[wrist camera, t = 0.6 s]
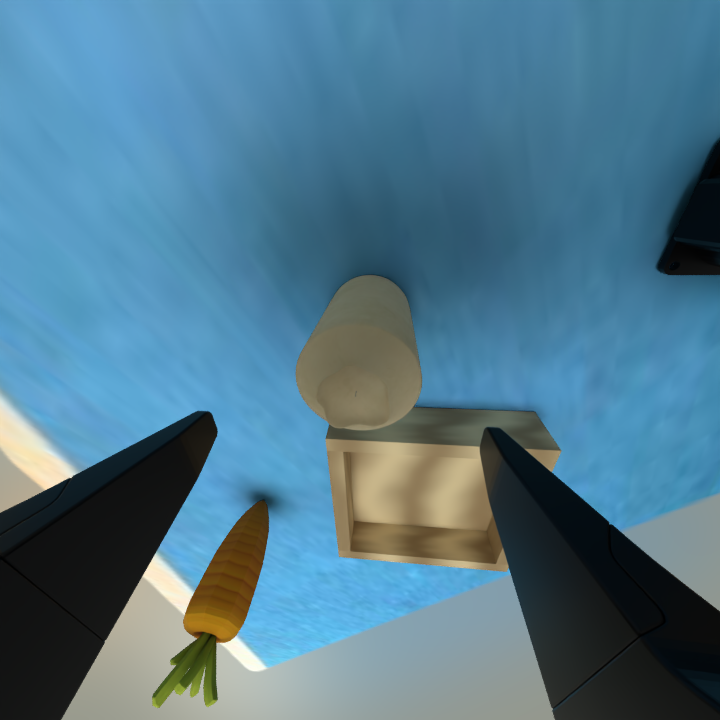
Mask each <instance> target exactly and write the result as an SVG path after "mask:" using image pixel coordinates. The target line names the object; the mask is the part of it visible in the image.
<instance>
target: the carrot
mask: <svg viewBox="0 0 720 720" xmlns="http://www.w3.org/2000/svg"><path fill="white" fill-rule="evenodd" d="M268 532H269V515H268V507H267V504H266V502H265V501H264V500H262V501H259V502H257V503H256V504H255V505H253V506H252V507H251V508H250V509H249V510H247V511H246V513H245V514H244V515H243V516H242V517H241V518H240V519H239V520H238V521H237V522H236V524H235V525H234V526H233V528H232V529H231V531H230V532H229V533H228V535H227V536H226V538H225V539H224V541H223V542H222V544H221V545H220V547H219V548H218V550H217V551H216V553H215V555H214V557H213V559H212V561H211V562H210V564H209V566H208V568H207V570H206V571H205V573H204V575H203V577H202V579H201V581H200V583H199V585H198V587H197V589H196V590H195V592H194V594H193V596H192V598H191V600H190V602H189V605H188V607H187V610H186V613H185V616H184V620H183V624H184V628H185V630H186V631H187V632H188V633H189V634H191V635H192V636H194V637H195V638H197V640H195V641H194V642H193V643H191V644H190V645H189V646H187V647H186V648H185V649H183V650H182V651H181V652H180V653H179V654H177V655H176V656H175V657H173V658H172V659H171V660H170V662H171V665H176V666H175V668H174V669H173V670H172V671H171V672H170V674H169V675H168V676H167V677H166V678H165V680H164V681H163V682H162V683H161V685H160V686H159V687H158V689H157V690H156V691H155V693H154V694H153V697H152V700H153V701H152V702H153V706H155V707H157V708H160V706H161V705H162V704H163V702H164V701H165V700H166V699H167V697H168V696H169V695H170V694H171V692H172V691H173V690H175V692H176V694H179V695H181V694H182V693H183V692H184V691H185V690H186V689H187V687H188V686H189V685H190V684H191V683H192V685H191V691H190V696H191V697H193V696H195V695H196V694H197V693H198V692H199V688H200V683H201V680H202V676H203V672H204V669H205V666H206V669H205V677H204V687H203V689H204V701H205V705H206V706H207V707H209V706H211V705H212V704H214V703H215V702H216V701H217V700H218V698H217V686H216V643H225V642H228V641H230V640H232V639H233V638H234V637H235V636H236V635H237V633H238V632H239V630H240V629H241V627H242V625H243V624H244V621H245V619H246V617H247V613H248V610H249V607H250V604H251V601H252V598H253V595H254V592H255V589H256V585H257V582H258V579H259V575H260V572H261V568H262V565H263V560H264V555H265V550H266V545H267V539H268ZM189 668H190V669H189ZM188 669H189V670H188ZM187 671H188V672H187ZM186 672H187V673H186ZM174 688H175V689H174Z"/></svg>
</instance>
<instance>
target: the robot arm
mask: <svg viewBox="0 0 720 720" xmlns="http://www.w3.org/2000/svg"><path fill="white" fill-rule="evenodd" d="M673 262H674V265H673V266H672V267H671V268H669V266H670V265H671V264H672V263H673ZM658 269H659V271H660V272H661V273H664V274H668V275H720V141H719V142H718V143H717V145H716V146H715V148H714V150H713V152H712V154H711V157H710V159H709V161H708V163H707V165H706V167H705V169H704V171H703V173H702V175H701V178H700V180H699V182H698V184H697V186H696V188H695V190H694V192H693V194H692V197H691V199H690V201H689V203H688V205H687V207H686V209H685V211H684V213H683V215H682V218H681V220H680V222H679V224H678V226H677V228H676V230H675V232H674V234H673V236H672V239H671V241H670V243H669V245H668V247H667V249H666V251H665V253H664V255H663V258H662V260H661V262H660V264H659V267H658ZM217 432H218V431H217V427H216V424H215V421H214V418H213V416H212V414H211V413H210V412H209V411H196V412H194V413H192V414H191V415H189V416H187V417H185V418H183V419H181V420H179V421H177V422H175V423H173V424H171V425H170V426H168V427H166V428H164V429H162V430H160V431H158V432H156V433H154V434H152V435H150V436H149V437H147V438H145V439H143V440H141V441H139V442H137V443H135V444H133V445H131V446H129V447H128V448H126V449H124V450H122V451H120V452H118V453H116V454H114V455H112V456H110V457H108V458H107V459H105V460H103V461H101V462H99V463H97V464H95V465H93V466H91V467H89V468H88V469H86V470H84V471H82V472H80V473H78V474H76V475H74V476H73V477H72V478H68V479H66V480H64V481H63V482H61V483H59V484H57V485H55V486H53V487H51V488H49V489H47V490H45V491H43V492H41V493H39V494H37V495H35V496H34V497H32V498H30V499H28V500H26V501H24V502H21V503H19V504H17V505H15V506H13V507H11V508H9V509H7V510H5V511H3V512H1V513H0V720H61V719H62V717H63V715H64V714H65V712H66V710H67V708H68V707H69V705H70V703H71V701H72V699H73V698H74V696H75V694H76V693H77V691H78V689H79V687H80V685H81V684H82V682H83V680H84V678H85V677H86V675H87V673H88V671H89V670H90V668H91V666H92V664H93V663H94V661H95V659H96V657H97V656H98V654H99V652H100V650H101V648H102V647H103V645H104V643H105V640H106V639H107V638H108V636H109V634H110V632H111V630H112V629H113V627H114V625H115V623H116V622H117V620H118V618H119V616H120V615H121V613H122V611H123V609H124V608H125V606H126V604H127V602H128V601H129V598H130V597H131V595H132V594H133V592H134V590H135V588H136V586H137V585H138V583H139V581H140V579H141V578H142V576H143V574H144V572H145V571H146V569H147V567H148V565H149V564H150V562H151V560H152V558H153V557H154V555H155V553H156V551H157V549H158V548H159V546H160V544H161V542H162V541H163V539H164V537H165V535H166V534H167V532H168V530H169V528H170V527H171V525H172V523H173V521H174V520H175V518H176V516H177V514H178V513H179V511H180V509H181V507H182V505H183V504H184V502H185V500H186V498H187V497H188V495H189V493H190V491H191V490H192V488H193V486H194V484H195V482H196V481H197V479H198V477H199V475H200V473H201V471H202V468H203V466H204V464H205V462H206V459H207V457H208V455H209V453H210V450H211V448H212V446H213V444H214V441H215V439H216V437H217ZM480 457H481V462H482V468H483V473H484V478H485V484H486V489H487V494H488V499H489V503H490V507H491V510H492V514H493V517H494V520H495V524H496V527H497V530H498V533H499V537H500V540H501V543H502V547H503V550H504V553H505V556H506V560H507V563H508V566H509V570H510V573H511V576H512V579H513V583H514V586H515V589H516V592H517V596H518V599H519V602H520V606H521V609H522V612H523V615H524V619H525V622H526V625H527V629H528V632H529V635H530V638H531V642H532V645H533V648H534V651H535V655H536V658H537V661H538V665H539V668H540V671H541V674H542V678H543V681H544V684H545V688H546V691H547V694H548V697H549V701H550V704H551V707H552V708H553V710H552V711H553V715H554V718H555V720H720V611H719V610H717V609H716V608H715V607H713V606H712V605H711V604H710V603H708V602H707V601H706V600H704V599H703V598H702V597H701V596H699V595H698V594H696V593H695V592H694V591H693V590H691V589H690V588H689V587H688V586H686V585H685V584H684V583H682V582H681V581H680V580H679V579H677V578H676V577H675V576H674V575H672V574H671V573H670V572H669V571H667V570H666V569H665V568H664V567H662V566H661V565H660V564H658V563H657V562H656V561H655V560H653V559H652V558H651V557H650V556H649V555H647V554H646V553H645V552H644V551H643V550H641V549H640V548H639V547H638V546H637V545H636V544H634V543H633V542H632V541H631V540H630V539H628V538H627V537H626V536H625V535H624V534H623V533H621V532H620V531H619V530H618V529H617V528H616V527H614V526H613V525H612V524H610V525H609V522H608V521H607V520H606V519H605V518H604V517H603V516H602V515H600V514H599V513H598V512H597V511H596V510H595V509H594V508H592V507H591V506H590V505H589V504H588V503H587V502H585V501H584V500H583V499H582V498H581V497H580V496H578V495H577V494H576V493H575V492H574V491H573V490H572V489H570V488H569V487H568V486H567V485H566V484H565V483H563V482H562V481H561V480H560V479H559V478H558V477H556V476H555V475H554V474H553V473H552V472H551V471H550V470H548V469H547V468H546V467H545V466H544V465H543V464H541V463H540V462H539V461H538V460H537V459H536V458H535V457H533V456H532V455H531V454H530V453H529V452H528V451H526V450H525V449H524V448H523V447H522V446H521V445H519V444H518V443H517V442H516V441H515V440H514V439H513V438H511V437H510V436H509V435H508V434H507V433H506V432H504V431H503V430H502V429H501V428H499V427H486V428H485V429H484V431H483V435H482V439H481V443H480Z"/></svg>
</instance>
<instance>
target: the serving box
mask: <svg viewBox="0 0 720 720" xmlns="http://www.w3.org/2000/svg"><path fill="white" fill-rule="evenodd" d="M486 427H499V428H501V429H502V430H503V431H504V432H506V433H507V434H508V435H509V436H510V437H511V438H513V439H514V440H515V441H516V442H517V443H518V444H519V445H521V446H522V447H523V448H524V449H525V450H526V451H528V452H529V453H530V454H531V455H532V456H533V457H535V458H536V459H537V460H538V461H539V462H540V463H541V464H543V465H544V466H545V467H546V468H547V469H548V470H550V471H551V472H552V471H553V468H554V466H555V464H556V462H557V459H558V457H559V455H560V453H561V449H560V448H559V447H558V445H557V444H556V442H555V441H554V439H553V438H552V436H551V435H550V433H549V432H548V430H547V429H546V427H545V426H544V424H543V423H542V421H541V420H540V418H539V417H538V416H537V414H536V413H535V412H524V411H498V410H473V409H447V408H422V407H413V408H412V409H411V410H410V411H409V412H408V413H407V414H406V415H405V416H404V417H403V418H401V419H400V420H398V421H396V422H395V423H393V424H390V425H388V426H385V427H382V428H378V429H373V430H351V429H346V428H335V427H333V426H331V425H330V424H329V428H328V432H327V436H326V447H327V455H328V464H329V473H330V482H331V490H332V499H333V508H334V517H335V526H336V534H337V543H338V552H339V557H346V558H358V559H369V560H380V561H391V562H402V563H414V564H425V565H436V566H447V567H459V568H470V569H481V570H492V571H503V572H507V570H508V568H509V566H508V563H507V560H506V556H505V553H504V550H503V547H502V543H501V540H500V537H499V533H498V530H497V527H496V524H495V520H494V517H493V514H492V510H491V507H490V503H489V499H488V494H487V489H486V484H485V478H484V473H483V468H482V462H481V457H480V443H481V439H482V435H483V431H484V429H485V428H486Z"/></svg>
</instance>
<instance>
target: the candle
mask: <svg viewBox="0 0 720 720" xmlns="http://www.w3.org/2000/svg"><path fill="white" fill-rule="evenodd" d="M296 382H297V386H298V389H299V392H300V394H301V396H302V398H303V399H304V401H305V402H306V404H307V405H308V406H309V407H310V408H311V409H312V410H313V411H314V412H315V413H316V414H317V415H318V416H320V417H321V418H323V419H324V420H326V421H327V422H328V423H329V424H330V425H331V426H333V427H335V428H346V429H351V430H373V429H378V428H382V427H385V426H388V425H390V424H393V423H395V422H396V421H398V420H400V419H401V418H403V417H404V416H405V415H406V414H407V413H408V412H409V411H410V410H411V409H412V408H413V406H414V405H415V403H416V402H417V400H418V398H419V395H420V392H421V387H422V374H421V367H420V361H419V356H418V350H417V345H416V339H415V333H414V328H413V322H412V317H411V311H410V307H409V303H408V300H407V298H406V296H405V295H404V293H403V292H402V290H401V289H400V288H399V287H398V286H397V285H396V284H395V283H393V282H392V281H390V280H388V279H386V278H384V277H381V276H376V275H363V276H359V277H356V278H353V279H351V280H349V281H348V282H346V283H345V284H343V285H342V286H341V287H340V288H339V289H338V291H337V292H336V293H335V295H334V297H333V298H332V300H331V302H330V303H329V305H328V307H327V308H326V310H325V312H324V314H323V315H322V317H321V319H320V321H319V322H318V324H317V326H316V327H315V329H314V331H313V333H312V334H311V336H310V338H309V339H308V341H307V343H306V345H305V346H304V348H303V350H302V352H301V354H300V356H299V358H298V361H297V365H296Z"/></svg>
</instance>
